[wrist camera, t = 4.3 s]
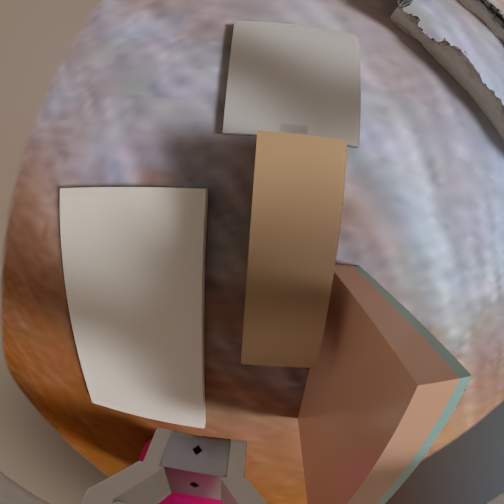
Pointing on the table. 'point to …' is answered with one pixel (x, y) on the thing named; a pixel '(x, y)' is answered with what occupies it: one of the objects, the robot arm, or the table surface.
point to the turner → (292, 177)
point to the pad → (138, 296)
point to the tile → (372, 395)
